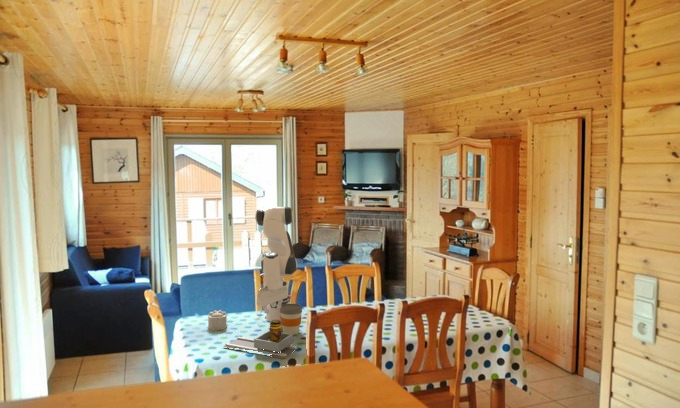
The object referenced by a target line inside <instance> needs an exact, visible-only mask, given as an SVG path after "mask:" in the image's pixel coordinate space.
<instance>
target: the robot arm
mask: <svg viewBox="0 0 680 408" xmlns="http://www.w3.org/2000/svg"><path fill="white" fill-rule="evenodd" d="M294 216H295V215H294V211H293V209H292V208H291V207H290V206H271V207H270V206H269V207H261V208H258V209H257V210H256V212H255V221H256V224H257V225H258V226H260V227H262V230H263V232H262V233H263V234H264V236H265V238H267V248H268V250H269V251H270V252H266V253H265V254H264V255H263V258H262V259H261V261H260V263H261V265H260V266H261V267H260V268H261V272H262V273H263V281H262V282H263V285H262V286H263V287H261V288H259V290H257V295H256V305H257V306H258V307H261V308H262V309H263V313H264V314H265V315H264V318H265V319H266V321H268V322H269V323H270V322H271V321H272V320H280V322H281V318H280V316H281V313H280V308H281V305H284V304H292V303H291V301H290V299H291V298H292V295H289V291H288V290H289V287H288V281H287V280H285V278H284V277H291V276H293V275H294V274H295V272H296V271H297V270H298V261H297V259H296V256H295V252H294V251H295V250H294V248H293V242H292V240H291V239H292V238H291V235H290V233H289V231H287V230H286V226H288V225H291V224H292V223H293V220H294V218H295V217H294Z"/></svg>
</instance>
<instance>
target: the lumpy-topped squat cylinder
mask: <svg viewBox="0 0 680 408" xmlns="http://www.w3.org/2000/svg"><path fill="white" fill-rule="evenodd" d="M227 318H228V317H227V313H226V311H222V309H219V310H213V311H210V312H209V313H208V315H207V319H208V320H207V321H208V330H211V331H216V330H217V331H218V330H225V329H227V327H228V326H227V325H228V323H227V322H228V321H227V320H228V319H227Z"/></svg>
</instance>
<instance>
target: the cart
mask: <svg viewBox="0 0 680 408" xmlns="http://www.w3.org/2000/svg"><path fill="white" fill-rule="evenodd" d="M253 339H254V348H257V349H264V350H270V351H275V352H276V353H278V352H280V351H281V350H283V349H284V348H286V347H287V346H291V344H293V343H294V341H293V340H294V335H293V334H287V333H283V332H281V341H280V342H279V343H277V342H271V341H268V340H269V339H270V330H267V331H266V332H263V333H262V334H260V335H258V336H257V337H255V338H253Z"/></svg>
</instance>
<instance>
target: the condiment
mask: <svg viewBox="0 0 680 408" xmlns="http://www.w3.org/2000/svg"><path fill="white" fill-rule="evenodd" d="M269 323H270V324H269V325H270V326H269V331H270V339H269V340H268V341H271V342H277V343H279V342H280V341H281V333H282V324H281V322H280V320H272V321H271V322H269Z"/></svg>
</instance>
